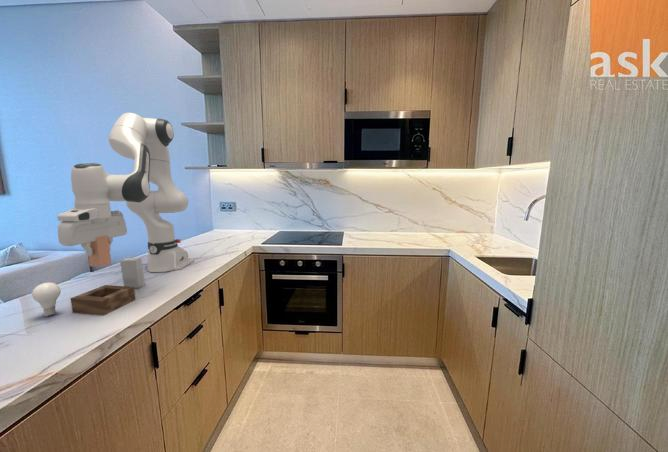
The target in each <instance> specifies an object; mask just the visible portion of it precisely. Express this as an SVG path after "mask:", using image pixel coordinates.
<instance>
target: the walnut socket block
mask: <svg viewBox="0 0 668 452" xmlns="http://www.w3.org/2000/svg"><path fill="white" fill-rule="evenodd" d="M134 301H136V293H135V288H134V287H127V286H124V285H112V284H110V285H109V284H104V285H102V286H99V287H97V288H93V289H91V290H89V291H88V290H87V291H86V292H83V293H80V294H78V295H76V296H74V297H71V298H70V303H71V312H72V313H75V314H84V315H96V316H98V315H99V316H105V315H108V314H110V313H111V312H114V311H116V310H118V309H120V308H122V307H124V306H125V305H128V304H130V303H132V302H134Z"/></svg>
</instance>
